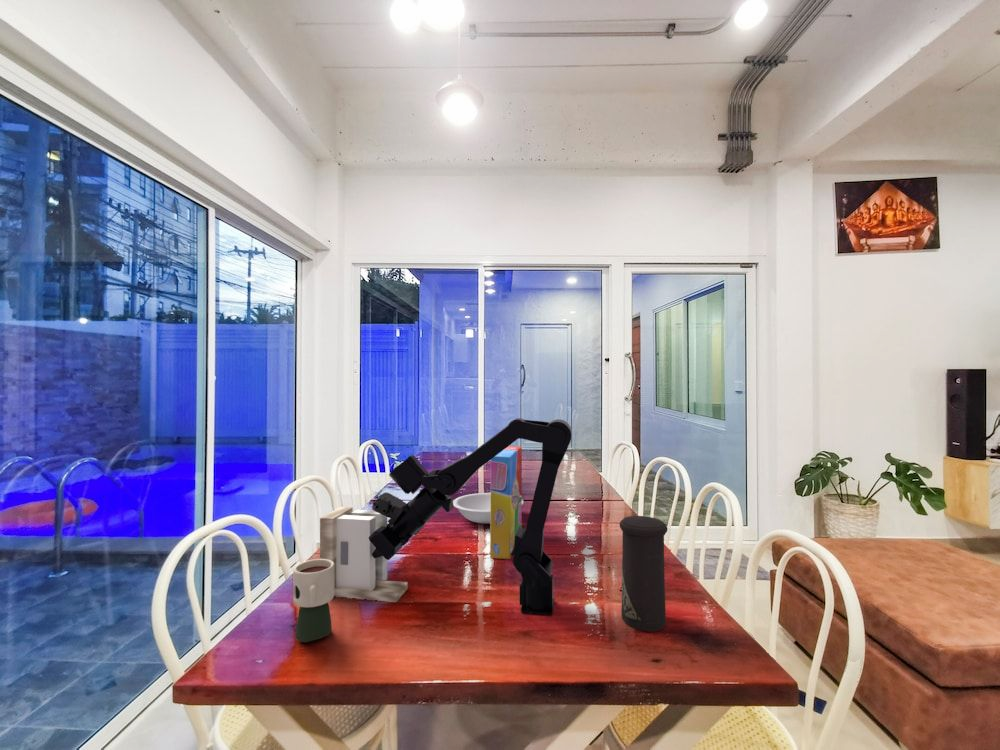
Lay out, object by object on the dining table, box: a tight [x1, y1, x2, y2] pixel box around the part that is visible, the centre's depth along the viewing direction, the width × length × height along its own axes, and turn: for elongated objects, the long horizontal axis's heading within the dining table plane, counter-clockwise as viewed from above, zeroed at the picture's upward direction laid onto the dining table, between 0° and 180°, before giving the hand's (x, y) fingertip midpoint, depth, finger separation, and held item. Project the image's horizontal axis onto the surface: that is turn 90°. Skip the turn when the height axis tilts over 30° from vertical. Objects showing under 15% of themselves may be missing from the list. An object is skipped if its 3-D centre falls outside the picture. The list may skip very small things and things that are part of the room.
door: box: [336, 515, 375, 590], centre depth 103 cm, size 8×3×16 cm, turn 80°
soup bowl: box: [453, 492, 524, 525], centre depth 155 cm, size 24×24×7 cm
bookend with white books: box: [319, 506, 409, 603], centre depth 104 cm, size 18×10×17 cm, turn 80°
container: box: [619, 515, 668, 632], centre depth 90 cm, size 9×9×20 cm
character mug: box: [292, 558, 335, 643], centre depth 85 cm, size 11×7×13 cm, turn 20°
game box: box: [489, 445, 523, 560], centre depth 131 cm, size 21×6×27 cm, turn 168°
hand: (373, 556), depth 102 cm, fingers closed
